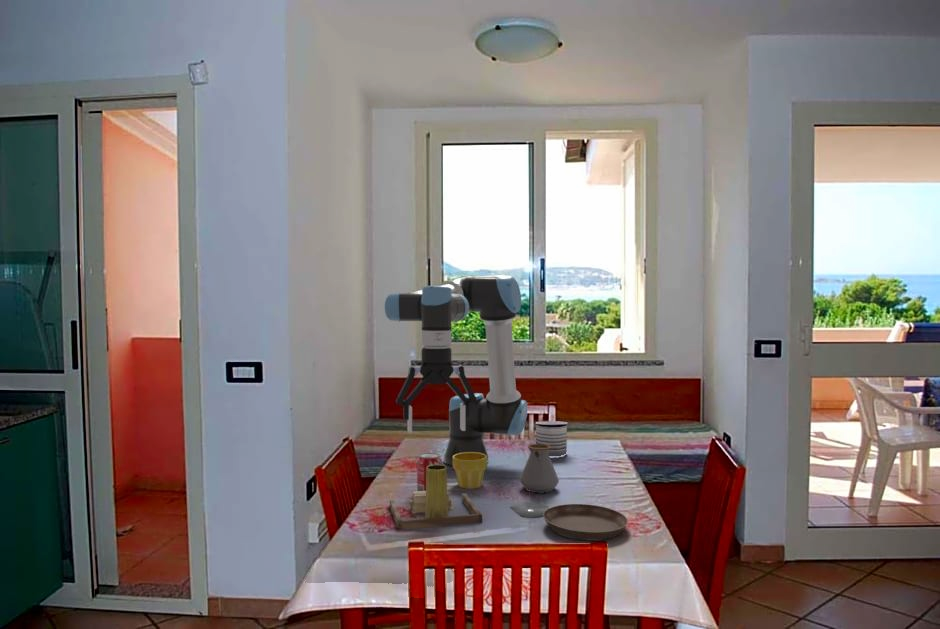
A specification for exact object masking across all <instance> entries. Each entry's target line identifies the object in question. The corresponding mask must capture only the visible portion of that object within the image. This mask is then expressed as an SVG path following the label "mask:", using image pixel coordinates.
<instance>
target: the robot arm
mask: <svg viewBox="0 0 940 629" xmlns="http://www.w3.org/2000/svg"><path fill="white" fill-rule="evenodd" d="M518 283H519V282H518V280H517V279H516V278H515V277H513V276H511V275H502V274H500V275H499V274H496V275H494V274H493V275H492V274H491V275H489V274H488V275H466V276H465V275H464V276H460V277H457V278H452V279H448V280H445V281H442V282H440V284H439V285H425V286H423V287H422V289H420V290H416V291H413V292H406V293H404V292H403V293H400V292H398V293H390V294H388V295H387V297H386V298H385V301H384V314H385V316H386V318H387V319H389V321H394V322H395V321H396V322H397V321H398V322H421V346H423V347H422V348H421V366H420V367H414V366H413V365H411V366H409V367H408V375H407V377H406V379H405V381H404V383H403V385H402V387H401V389H400V391H399V393H398V395H397V396H396V399H395V403H396V404H397V405H400V406H402V412H403V414H402V417H403V420H407V421H406V422H407V426H406V428H407V432H408V434H413V407H412V406H411V404H412V402H413V401H414V400H415V399H416V398H417V397H418V395H420V393H421V392H422V390H423V389H424V388H425V387H426V386H427V385H428V384H429V385H444V384H445V383H446V384H447V385H448V386H449V387H450V388H451V390H452V391H453V392H454V393H455V394H456V395H455V396H453V397H451V398H450V400H449V405H448V406H449V408H448V413H449V414H448V422H449V423H448V425H449V426H448V429H449V430H448V432H449V434H448V435H449V436H448V443H447V445H446V449H445V453H444V457H443V460H444V461H445V462H446V463H447V464H446V463H445V462H444V461H443V462H444V463H445V464H446V465H448V464H450V465H449V466H451V465H453V463H452V457H453V455H455V454H458V453H464V452H477V453H482V454H485V455H486V456H487V461H488V462H489V455H488V454H489V453H488V451H487V447H486V444H485V441H484V434H492V435H501V436H502V435H505V436H519V435H521V433H522V432H523V431H524V428H525V426H526V421H527V417H528V402H527V401H526V400H524V399H522V395H521V393H520V391H519V390H517V386H516V385H517V384H516V372H515V371H516V369H515V368H516V367H515V356H514V354H515V352H514V338H513V336H514V335H513V334H514V333H513V323H512V322H513V321H514V320H515V318H516V317H517V313H518V312H519V311H520V310H521V308H522V307H521V306H522V302H521V301H522V293H521V289H520V285H519V284H518ZM469 312H472V313H473V312H474V313H477V312H478V313H479V317H480V321H482V322H483V323H484V326H485V339H486V350H487V351H486V352H487V364H488V375H489V376H488V379H489V392H488V393H487V394H486V397H484V394H483V393H480V392H479V393H478V392H476V393H474V391H473V389H472V386H471V385H470V383H469V381H468V379H467V376H466V374H465V367H464V366H463V365H460V364H459V365H456V366H453V364H452V348H451V347H450V346H452V323H458V322H460V321H462V320H464V319H465V318H466V317H467V316H468V314H469ZM453 372H454V373H455V374H456V375H458V378H459V380H460V381H461V384H462V386H463V388H464V390H465V392H466V393H463V392H462V390H461V389H459V386H457V385H456V383H455V382H454V381H453V380H452V379H451V376H452V375H453ZM418 373H420V374H421V375H420V376H422V378H420V380H419V381H418V383H417V384H416V385H415V387H414V388H413V389H412V390H411V392H410V393H409V394H408V391H409V389H410V387H411V385H412V383H413V381H414V378H415V377H417V376H418ZM407 394H408V396H407V397H406V395H407ZM405 397H406V398H405Z"/></svg>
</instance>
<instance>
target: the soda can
mask: <svg viewBox="0 0 940 629" xmlns="http://www.w3.org/2000/svg"><path fill="white" fill-rule="evenodd" d="M429 465H443V461H442V459H441V457H440V454H439V453H437V452H423V453H421V454H419V458H418V459H417V466H416V469H417V470H416V477H417V478H416V480H417V481H416V483H417V484H416V487H417V490H416V492H417V491H426V467H427V466H429Z"/></svg>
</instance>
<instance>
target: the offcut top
mask: <svg viewBox="0 0 940 629" xmlns="http://www.w3.org/2000/svg"><path fill="white" fill-rule="evenodd" d="M412 497H413V498H412V499H413V500H414V503H415V504H419V503H426V491H417V490H416V491H412ZM449 499H450V493H449V492H448V491H447V501H449Z"/></svg>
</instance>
